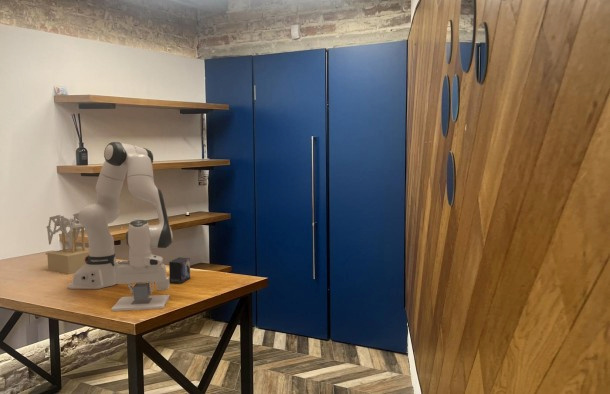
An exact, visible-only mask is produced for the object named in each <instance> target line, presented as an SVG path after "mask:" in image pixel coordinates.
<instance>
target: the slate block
mask: <svg viewBox="0 0 610 394" xmlns="http://www.w3.org/2000/svg"><path fill="white" fill-rule="evenodd" d="M132 287H133V294H132V295H133V296H134V299H146V298H148V297H149V296H151V293H148V289H149V288H151V282H148V283H134V285H133V286H132Z"/></svg>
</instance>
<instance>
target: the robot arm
mask: <svg viewBox="0 0 610 394" xmlns="http://www.w3.org/2000/svg"><path fill="white" fill-rule="evenodd" d="M103 155H104V156H103V157H104V162H103V164H102V166H101V170H100V171H99V175H98V178H97V181H96V185H95V192H96V200H95V202H94V203H92V204H91V203H90V204H88V205H86V206H84V207H83V208H82V209H80V211H79V212H78V213H79V215H78V219H79V222H80V223H81V225H83V226H84V232H85V233H86V234H85V235H86V236H87V242H88V248H89V255H87V257H85V260H84V261H85V262H86V264H85V265H83V266H82V267H81V268H80V269H78V270H77V271H76V272H75V273H73V277H72V281H71V282H69V283H68V284H67V289H70V290H71V289H73V290H75V289H76V290H78V289H79V290H82V289H83V290H99V289H103V288H108V287H113V286H115V285H122V284H127V287H128V288H129V290H130V294H132V295H134V294H133V287H134V286H133V284H136V283H150V288H149V289H148V293H150V294H152V293H153V292H154V289H153V288H154V286H156V285H155V284H156V282H164V281H165V280H166V279H167V277H168V275H167V274H168V273H167V268H166V265H165V264H164V262H163V261H164V258H163V256H160V255H156V254H153V253H152V249H154V248H155V249H156V248H157V249H167V248H169V246H171V245H172V243H173V240H174V235H173V234H174V233H173V230H172V227H171V226H170V225H171V224H170V223H169V217H168V216H169V215H168V211H167V207H166V203H165V199H164V195H163V192H162V190H161V189H160V188H158V187H157V186H156V184H155V179H154V178H155V177H154V167H153V163H154V154H153V152H152V151H151V150H150V149H148V148H145V147H141V146H138V145H135V144H131V143H130V144H129V143H123V142H119V141H112V142H109V143H108V144H107V145H106V146H105V148H104V153H103ZM125 178H126V182H127V188H128V192H129V193H130V194H131V195H132V196H133V197H134V198H137V199H139V200H142V201H144V202H145V201H146V202H148V203H151V204H152V205H153V206H154V207H155V208H156V212H157V218H158V223H159V224H156V225H155V224H154V225H153V224H152V225H150V224H149V222H148V221H147V220H145V219H135V220H132V221H130V223H128V230H127V231H126V233H125V238H126V245H127V246H128V248H129V250H128V260H118V261H117V257H116V253H115V240H114V236H113V235H112V234H111V232H110V228H109V224H112V223H113V222H115V221H116V220H117V219H118V218H119V216H120V213H121V211H120V208H119V204H120V202H119V201H120V195H121V191H122V190H123V189H122V188H123V186H124V185H123V184H124V182H125Z"/></svg>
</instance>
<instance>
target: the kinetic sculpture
mask: <svg viewBox="0 0 610 394" xmlns="http://www.w3.org/2000/svg"><path fill="white" fill-rule="evenodd" d="M78 215H79V212H78V213H74V214H72V216H73V218H70V219H69V218H67V217H65V216H64V215H61V214H58V215H54V216H49V219H48V225H47V226H46V229H47V230H46V231H47V239H48V245H49V246H50V245H51V244H52V241H53V236H54V235H56V233H58V232H61V239H62V240H61V241H62V243H61V245H62V249H60V250H55V251H54V250H53V251H47V252H45V255H46V256H47V268H46V272H55V273H59V274H65V275H72V274H73V275H74V273H75V272H76V271H77V270H78V269H80V268H81V267H82V266H83V265H85V264H86V262H85V261H84V260H85V257H87V255H89V247H86V244H85V243H86V242H85V241H86V240H85V239H86V238H85V228H84V226H83V225H81V223H80V222H79V219H78ZM51 222H53V224H54V227H53V230H52V229H51V224H52V223H51ZM57 227H58V228H57ZM67 228H69V230H67ZM79 233H81V246H77V240H78V237H79ZM66 241H67V245H68V247H69V248H66Z"/></svg>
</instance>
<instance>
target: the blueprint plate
mask: <svg viewBox="0 0 610 394" xmlns="http://www.w3.org/2000/svg"><path fill="white" fill-rule="evenodd" d="M170 295H171V294H159V295H158V294H156V295H155V294H153V295H150V296H149V297H148V298H146V299H134V295H132V296H121V297H120V298H119V300H117V302H115V304H114V305H113V306H112V307H111V312H123V311H140V310H141V311H144V310H162V309H164V308H165V306H166V305H167V303H168V301H169V299H170V297H171V296H170Z"/></svg>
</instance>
